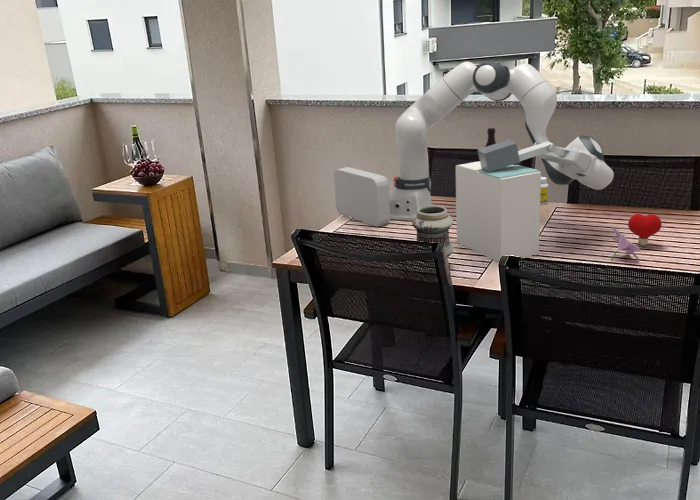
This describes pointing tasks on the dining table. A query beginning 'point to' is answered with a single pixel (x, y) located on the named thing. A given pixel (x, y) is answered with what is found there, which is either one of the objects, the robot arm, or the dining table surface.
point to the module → (508, 154)
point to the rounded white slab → (362, 196)
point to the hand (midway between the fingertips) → (542, 145)
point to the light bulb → (644, 226)
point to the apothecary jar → (434, 226)
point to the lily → (625, 244)
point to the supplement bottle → (544, 191)
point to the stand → (498, 210)
